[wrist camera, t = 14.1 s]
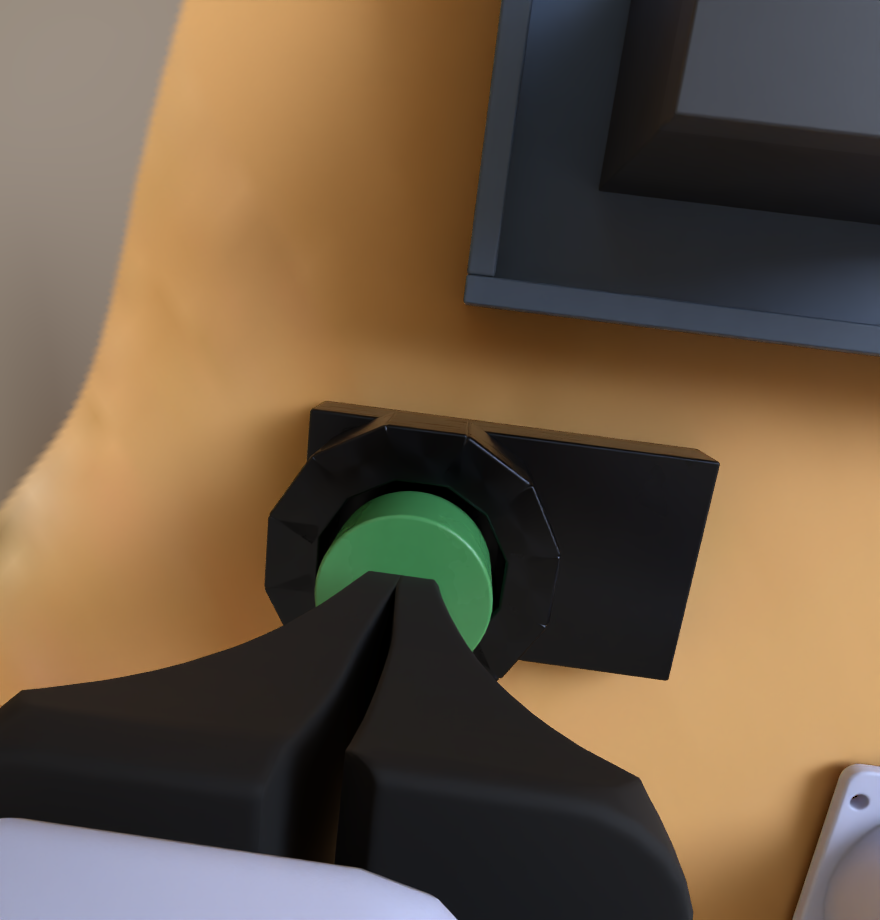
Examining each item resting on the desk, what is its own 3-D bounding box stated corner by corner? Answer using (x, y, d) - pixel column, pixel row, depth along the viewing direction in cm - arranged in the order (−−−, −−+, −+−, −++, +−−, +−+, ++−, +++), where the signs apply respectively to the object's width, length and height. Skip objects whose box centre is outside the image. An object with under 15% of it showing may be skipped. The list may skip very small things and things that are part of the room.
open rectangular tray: (1071, 380, 15) (1187, 393, 13) (464, 304, 15) (462, 302, 13) (1252, -107, 13) (1436, -206, 10) (526, -183, 13) (539, -297, 11)
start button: (479, 647, 14) (479, 692, 12) (327, 626, 14) (307, 667, 13) (501, 501, 13) (505, 528, 12) (339, 479, 13) (320, 503, 12)
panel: (650, 659, 17) (693, 742, 14) (299, 610, 18) (257, 681, 14) (701, 439, 16) (763, 473, 13) (315, 389, 16) (273, 409, 13)
